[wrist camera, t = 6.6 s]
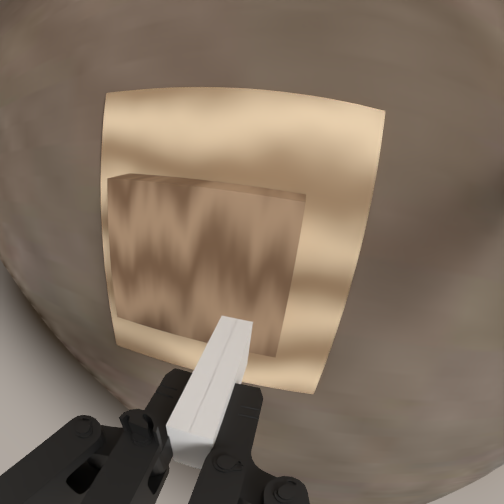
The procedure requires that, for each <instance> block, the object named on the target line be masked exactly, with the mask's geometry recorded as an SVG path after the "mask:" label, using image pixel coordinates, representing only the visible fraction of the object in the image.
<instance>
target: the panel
mask: <svg viewBox="0 0 504 504" xmlns="http://www.w3.org/2000/svg"><path fill="white" fill-rule="evenodd" d="M305 203H306V194H300V193H294V192H288V191H282V190H275V189H269V188H262V187H255V186H248V185H241V184H233V183H225V182H217V181H208V180H199V179H190V178H180V177H170V176H158V175H146V174H132V173H128V174H124V175H120V176H115V177H111V178H107V204H108V232H109V249H110V261H111V272H112V281H113V290H114V298H115V305H116V312H117V317H119V318H122V319H125V320H128V321H131V322H134V323H137V324H141V325H144V326H147V327H151V328H154V329H157V330H161V331H164V332H168V333H171V334H175V335H178V336H182V337H186V338H190V339H194V340H197V341H201V342H205V343H208V342H209V340H210V338H211V336H212V334H213V332H214V330H215V328H216V326H217V324H218V322H219V320H220V318H221V316H226V317H231V318H236V319H241V320H246V321H251V322H253V326H252V333H251V340H250V347H249V352H250V353H254V354H259V355H265V356H270V357H275V358H276V353H277V349H278V344H279V340H280V335H281V330H282V326H283V321H284V316H285V312H286V307H287V302H288V297H289V292H290V287H291V282H292V277H293V271H294V266H295V261H296V255H297V250H298V244H299V239H300V233H301V227H302V221H303V216H304V210H305Z"/></svg>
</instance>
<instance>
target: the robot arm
mask: <svg viewBox="0 0 504 504" xmlns="http://www.w3.org/2000/svg"><path fill="white" fill-rule="evenodd" d="M252 326H253V322H251V321H246V320H241V319H236V318H231V317H226V316H221V318H220V320H219V322H218V324H217V326H216V328H215V330H214V332H213V334H212V336H211V338H210V340H209V342H208V343H207V345H206V347H205V349H204V351H203V353H202V355H201V357H200V359H199V361H198V363H197V365H196V367H195V369H194V371H193V373H190V372H187V371H183V370H180V369H176V368H175V369H173V370H172V371H170V372H169V373H168V374H166V375H165V377H164V378H163V380H162V382H161V383H160V386H159V387H158V388H157V390H156V393H154V395H153V397H152V398H151V400H150V402H149V403H148V405H147V407H146V408H145V410H140V409H133V410H129V411H127V412H124V413H123V414H122V415H121V416H120V417H119V419H120V421H121V423H122V426H123V428H118V427H110V426H103V425H100V423H99V422H98V421H97V420H96V419H95V418H93V417H91V416H86V415H81V416H77V417H75V418H74V419H72V420H71V421H69V422H68V423H67V424H65V425H64V426H63V427H62V428H60V429H59V430H58V431H57V432H56V433H54V434H53V435H52V436H51V437H49V438H48V439H47V440H45V441H44V442H43V443H42V444H41V445H39V446H38V447H37V448H35V449H34V450H33V451H32V452H30V453H29V454H28V455H26V456H25V457H24V458H23V459H21V460H20V461H19V462H18V463H16V464H15V465H14V466H12V467H11V468H10V469H8V470H7V471H6V472H5V473H3V474H2V475H1V476H0V504H155V503H156V500H157V498H158V496H159V494H160V491H161V489H162V487H163V485H164V482H165V480H166V478H167V476H168V473H169V463H170V461H171V458H172V456H173V460H174V461H176V462H179V463H182V464H185V465H188V466H191V467H195V468H198V469H201V471H200V474H199V477H198V479H197V482H196V485H195V487H194V490H193V492H192V495H191V498H190V501H189V503H188V504H310V503H309V497H308V492H307V489H306V487H305V485H304V484H303V483H302V482H301V481H300V480H298V479H296V478H293V477H287V476H282V477H275V476H273V475H270V474H268V473H266V472H264V471H262V470H261V469H259V468H258V467H257V466H256V465H255V464H254V462H253V460H252V457H251V449H252V445H253V441H254V437H255V432H256V428H257V424H258V419H259V415H260V411H261V406H262V402H263V396H262V393H261V390H260V388H257V387H252V386H247V385H242V384H241V382H242V379H243V376H244V372H245V369H246V366H247V361H248V354H249V347H250V340H251V333H252Z"/></svg>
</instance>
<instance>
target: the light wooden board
mask: <svg viewBox="0 0 504 504" xmlns="http://www.w3.org/2000/svg"><path fill="white" fill-rule="evenodd" d="M384 118H385V111H383V110H379V109H375V108H371V107H367V106H362V105H358V104H353V103H349V102H344V101H339V100H333V99H328V98H322V97H316V96H310V95H303V94H296V93H288V92H279V91H269V90H258V89H244V88H223V87H175V88H154V89H141V90H130V91H120V92H112V93H106V101H105V110H104V121H103V134H102V151H101V220H102V238H103V252H104V263H105V272H106V281H107V289H108V296H109V303H110V310H111V316H112V322H113V328H114V333H115V338H116V343H117V345H119V346H121V347H124V348H127V349H130V350H132V351H135V352H138V353H141V354H144V355H147V356H150V357H153V358H156V359H159V360H162V361H166V362H169V363H172V364H175V365H179V366H182V367H186V368H189V369H193V370H194V369H195V367H196V365H197V363H198V361H199V359H200V357H201V355H202V353H203V351H204V349H205V347H206V345H207V343H205V342H201V341H197V340H194V339H190V338H186V337H182V336H178V335H175V334H171V333H168V332H164V331H161V330H157V329H154V328H151V327H147V326H144V325H141V324H137V323H134V322H131V321H128V320H125V319H122V318H119V317H117V312H116V305H115V298H114V290H113V281H112V272H111V261H110V249H109V232H108V204H107V178H111V177H115V176H120V175H124V174H128V173H132V174H146V175H158V176H170V177H180V178H190V179H199V180H208V181H217V182H225V183H233V184H241V185H248V186H255V187H262V188H269V189H275V190H282V191H288V192H294V193H300V194H306V203H305V210H304V216H303V221H302V227H301V233H300V239H299V244H298V250H297V255H296V261H295V266H294V271H293V277H292V282H291V287H290V292H289V297H288V302H287V307H286V312H285V316H284V321H283V326H282V330H281V335H280V340H279V344H278V349H277V353H276V358H275V357H270V356H265V355H259V354H254V353H250V352H249V354H248V361H247V366H246V369H245V372H244V376H243V379H242V382H246V383H251V384H256V385H261V386H266V387H272V388H277V389H283V390H289V391H295V392H302V393H309V394H314V392H315V389H316V387H317V384H318V381H319V379H320V376H321V374H322V371H323V368H324V366H325V363H326V360H327V357H328V355H329V352H330V349H331V346H332V343H333V340H334V337H335V334H336V331H337V328H338V325H339V322H340V319H341V316H342V313H343V310H344V306H345V303H346V300H347V296H348V293H349V290H350V286H351V283H352V279H353V275H354V272H355V268H356V264H357V260H358V257H359V253H360V249H361V245H362V240H363V236H364V232H365V228H366V223H367V219H368V214H369V209H370V204H371V200H372V194H373V189H374V184H375V178H376V173H377V167H378V161H379V155H380V148H381V141H382V134H383V126H384Z"/></svg>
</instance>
